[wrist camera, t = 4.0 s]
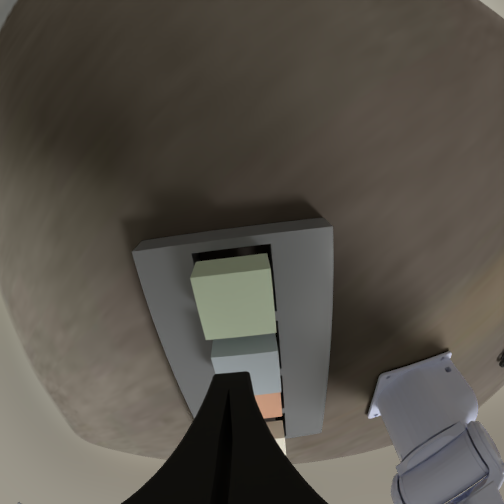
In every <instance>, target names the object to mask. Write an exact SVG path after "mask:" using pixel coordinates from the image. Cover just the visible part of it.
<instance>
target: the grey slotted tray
mask: <svg viewBox="0 0 504 504" xmlns="http://www.w3.org/2000/svg"><path fill="white" fill-rule="evenodd" d="M264 244H269V251H270V261H271V271H272V282H273V292H274V295H273V299H274V310H275V321H276V325H277V337H278V349H279V352H278V355H279V367H280V376H281V386H282V392H280V393H281V406H282V413H284V421H283V428H284V435H285V439H286V438H293V437H300V436H306V435H312V434H317V433H321V432H322V425H323V417H324V409H325V401H326V392H327V382H328V372H329V360H330V346H331V329H332V307H333V226H332V225H331V224H330V223H329V222H328V221H327V220H326V219H325V218H314V219H305V220H296V221H287V222H278V223H270V224H261V225H253V226H245V227H237V228H229V229H221V230H214V231H206V232H199V233H192V234H184V235H177V236H170V237H163V238H157V239H150V240H143V241H141V242H140V243H139V244H138V246H137V247H136V248H135V249H134V250H133V251H132V254H133V258H134V262H135V265H136V269H137V272H138V276H139V279H140V282H141V285H142V289H143V292H144V295H145V298H146V301H147V304H148V307H149V310H150V313H151V316H152V319H153V322H154V324H155V327H156V330H157V333H158V335H159V338H160V341H161V343H162V346H163V348H164V351H165V354H166V356H167V359H168V361H169V363H170V366H171V368H172V371H173V373H174V375H175V378H176V380H177V382H178V385H179V387H180V389H181V391H182V394H183V396H184V398H185V400H186V402H187V404H188V406H189V409H190V411H191V413H192V415H193V417H194V419H195V417H196V415H197V413H198V411H199V409H200V407H201V405H202V403H203V400H204V398H205V396H206V394H207V391H208V389H209V386H210V384H211V381H212V378H213V376H214V375H215V370H214V367H213V363H212V360H211V352H212V343H213V340H206V339H205V335H204V331H203V328H202V324H201V320H200V316H199V312H198V308H197V304H196V300H195V296H194V292H193V288H192V284H191V280H190V277H191V274H192V271H193V268H194V266H195V263H196V262H198V261H200V258H199V252H207V251H215V250H223V249H231V248H239V247H248V246H256V245H264Z"/></svg>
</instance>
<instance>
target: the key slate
mask: <svg viewBox="0 0 504 504" xmlns="http://www.w3.org/2000/svg"><path fill="white" fill-rule="evenodd" d="M211 360H212V363H213V367H214V370H215V374H220V373H232V372H243V371H247V372H249V373H250V376H251V381H252V386H253V391H254V395H262V394H271V393H279V392H281V379H280V367H279V355H278V347H277V341H276V335H275V333H271V334H262V335H254V336H245V337H235V338H225V339H213V343H212V352H211Z"/></svg>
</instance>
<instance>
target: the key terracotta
mask: <svg viewBox="0 0 504 504" xmlns="http://www.w3.org/2000/svg"><path fill="white" fill-rule="evenodd" d="M254 396H255V399H256V402H257V404H258V407H259V409H260V411H261V413H262V416H263V418H273V417H281V416H282V406H281V393H280V392H279V393H271V394H262V395H254Z"/></svg>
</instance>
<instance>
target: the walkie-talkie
mask: <svg viewBox="0 0 504 504" xmlns="http://www.w3.org/2000/svg"><path fill="white" fill-rule="evenodd" d="M499 366H501V367H504V354H503V356H502V358H501V361H500V363H499Z"/></svg>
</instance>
